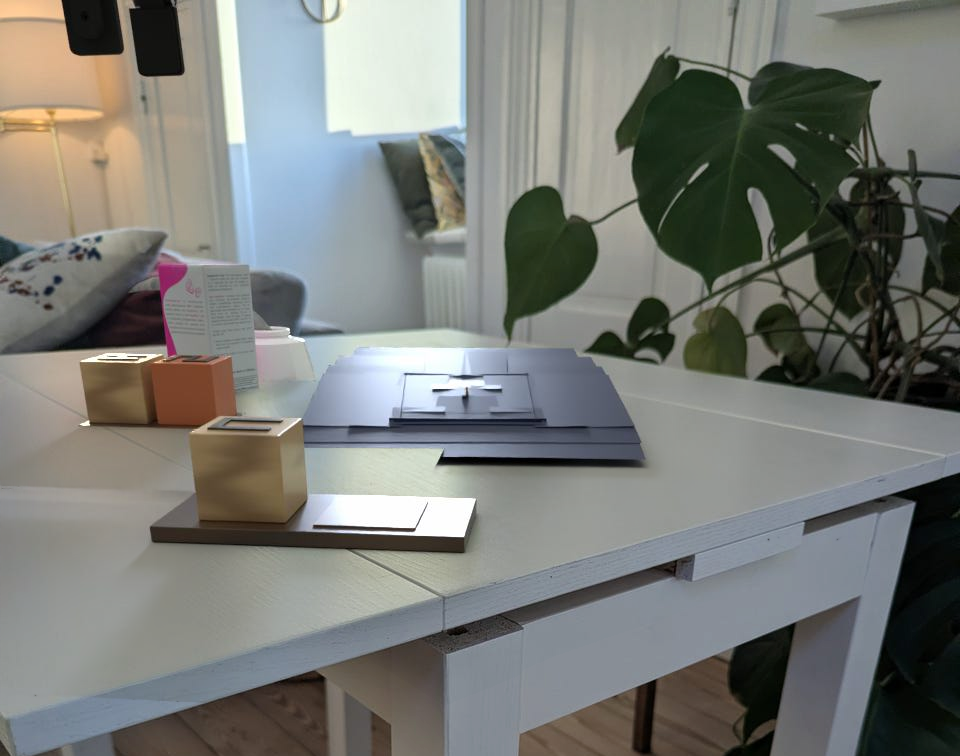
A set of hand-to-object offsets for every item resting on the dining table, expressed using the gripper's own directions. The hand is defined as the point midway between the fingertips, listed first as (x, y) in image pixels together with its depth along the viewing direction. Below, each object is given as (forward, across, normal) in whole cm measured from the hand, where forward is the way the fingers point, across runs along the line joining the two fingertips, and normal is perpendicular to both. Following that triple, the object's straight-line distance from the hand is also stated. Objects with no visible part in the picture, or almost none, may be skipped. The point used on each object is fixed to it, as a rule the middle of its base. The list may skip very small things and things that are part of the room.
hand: (132, 65), depth 61 cm
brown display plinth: (+24, +22, +16) cm, 36 cm away
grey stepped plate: (+25, -7, +21) cm, 33 cm away
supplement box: (+24, -16, -4) cm, 29 cm away
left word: (+24, -2, -2) cm, 24 cm away
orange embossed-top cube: (+23, -2, 0) cm, 23 cm away
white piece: (+24, -25, -6) cm, 36 cm away
